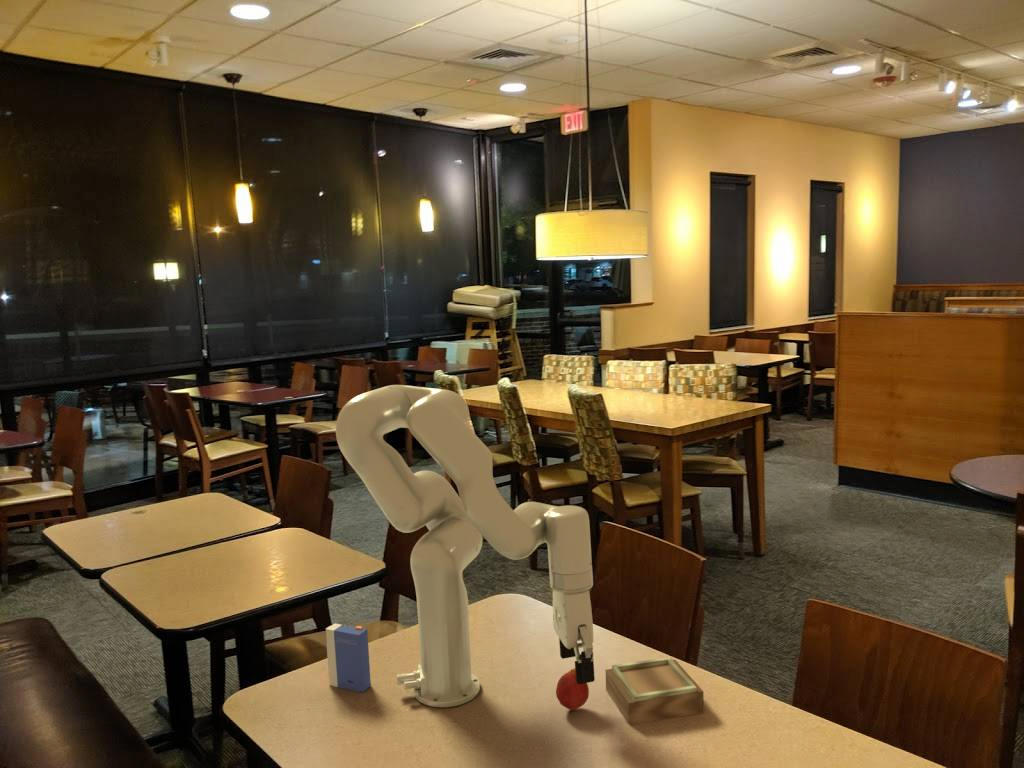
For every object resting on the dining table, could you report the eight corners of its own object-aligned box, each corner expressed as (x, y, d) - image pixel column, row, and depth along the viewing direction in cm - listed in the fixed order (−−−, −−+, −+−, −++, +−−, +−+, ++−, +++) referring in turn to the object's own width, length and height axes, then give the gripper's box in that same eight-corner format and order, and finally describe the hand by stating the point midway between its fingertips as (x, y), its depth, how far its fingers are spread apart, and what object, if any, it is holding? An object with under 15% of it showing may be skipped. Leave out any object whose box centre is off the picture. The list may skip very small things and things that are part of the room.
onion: (562, 721, 139) (561, 679, 137) (552, 704, 144) (551, 663, 143) (593, 715, 140) (592, 673, 139) (582, 699, 146) (581, 658, 144)
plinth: (628, 724, 137) (628, 698, 136) (605, 689, 149) (605, 665, 148) (703, 712, 140) (703, 687, 139) (675, 679, 151) (675, 655, 151)
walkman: (371, 685, 153) (367, 627, 151) (362, 692, 150) (358, 633, 149) (337, 678, 156) (333, 621, 154) (329, 685, 154) (324, 627, 152)
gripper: (538, 563, 146) (544, 651, 148) (564, 598, 129) (570, 697, 131) (577, 558, 148) (582, 644, 150) (607, 592, 131) (613, 689, 133)
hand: (577, 669), depth 141 cm, fingers open, 9 cm apart
